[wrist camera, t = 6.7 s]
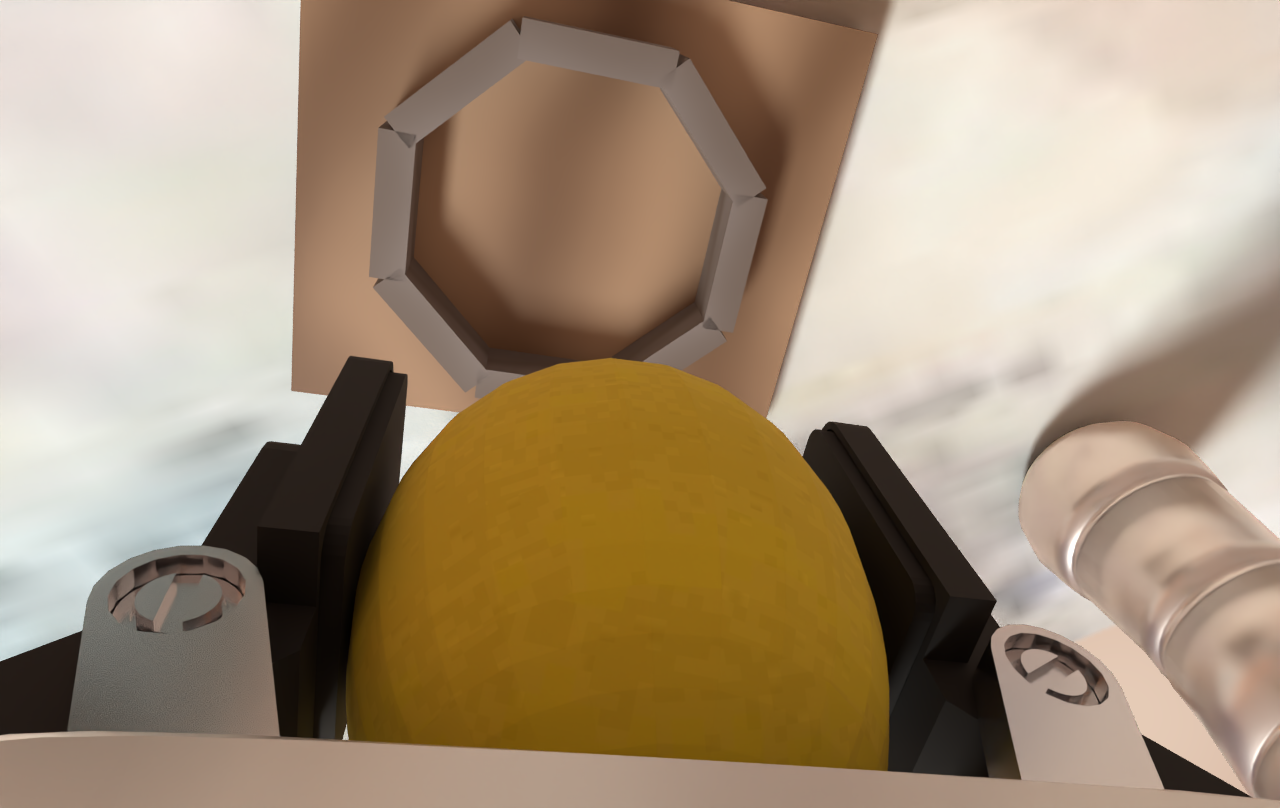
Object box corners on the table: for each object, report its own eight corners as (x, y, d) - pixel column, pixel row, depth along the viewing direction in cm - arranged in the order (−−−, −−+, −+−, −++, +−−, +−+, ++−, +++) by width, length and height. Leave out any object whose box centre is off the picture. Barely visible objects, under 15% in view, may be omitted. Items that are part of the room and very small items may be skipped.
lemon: (390, 568, 13) (216, 1225, 6) (437, 237, 11) (252, 675, 4) (716, 610, 15) (883, 1209, 7) (820, 314, 12) (1206, 769, 5)
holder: (860, 31, 26) (901, 36, 23) (747, 431, 31) (768, 476, 29) (317, -91, 23) (283, -103, 20) (303, 372, 29) (275, 415, 26)
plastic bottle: (1182, 472, 34) (1867, 988, 17) (1041, 567, 36) (1531, 1135, 18) (1115, 368, 32) (1838, 845, 14) (966, 475, 33) (1449, 1029, 16)
